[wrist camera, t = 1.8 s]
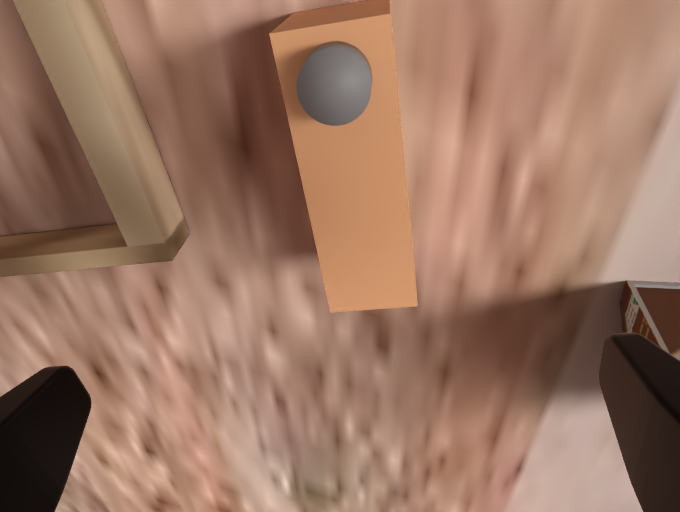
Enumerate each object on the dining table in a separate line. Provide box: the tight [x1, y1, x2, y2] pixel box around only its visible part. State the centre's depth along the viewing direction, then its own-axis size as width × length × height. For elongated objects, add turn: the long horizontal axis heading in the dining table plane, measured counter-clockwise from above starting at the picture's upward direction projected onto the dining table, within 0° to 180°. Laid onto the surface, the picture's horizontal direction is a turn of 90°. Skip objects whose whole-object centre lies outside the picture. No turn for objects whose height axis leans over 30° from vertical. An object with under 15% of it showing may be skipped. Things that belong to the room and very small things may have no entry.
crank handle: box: [269, 0, 418, 312], centre depth 15 cm, size 3×9×5 cm, turn 9°
